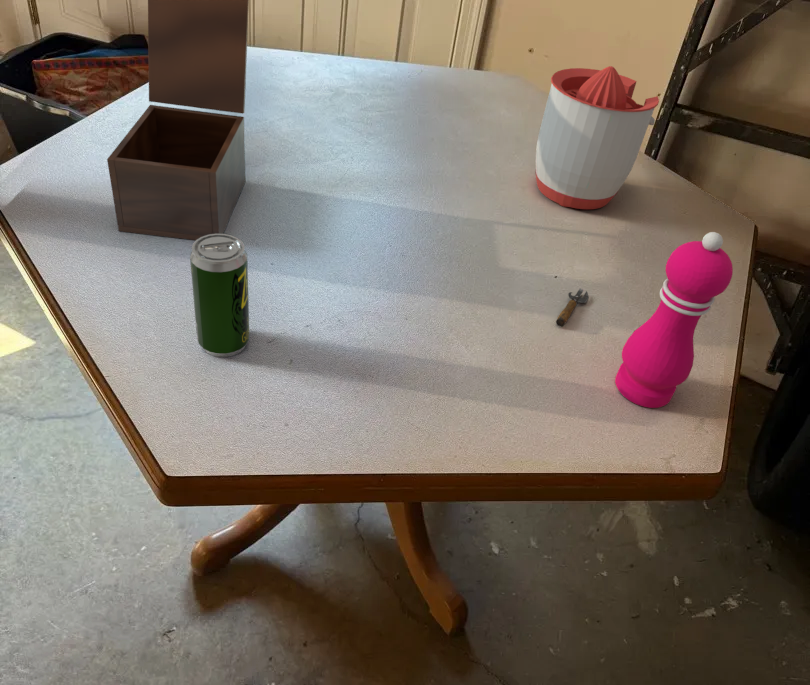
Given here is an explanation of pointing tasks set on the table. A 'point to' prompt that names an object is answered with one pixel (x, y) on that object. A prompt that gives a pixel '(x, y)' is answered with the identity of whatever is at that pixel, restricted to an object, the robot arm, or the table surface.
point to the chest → (178, 173)
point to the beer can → (220, 294)
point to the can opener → (571, 306)
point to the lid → (198, 53)
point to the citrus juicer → (589, 136)
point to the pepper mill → (674, 323)
